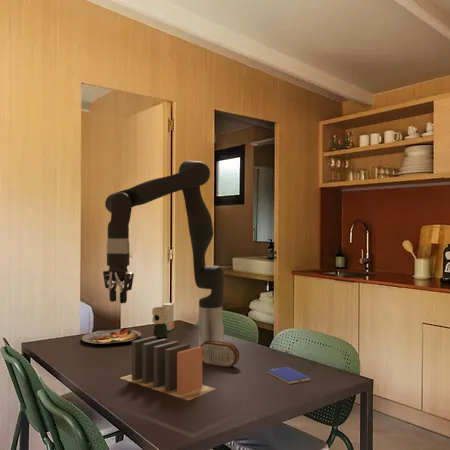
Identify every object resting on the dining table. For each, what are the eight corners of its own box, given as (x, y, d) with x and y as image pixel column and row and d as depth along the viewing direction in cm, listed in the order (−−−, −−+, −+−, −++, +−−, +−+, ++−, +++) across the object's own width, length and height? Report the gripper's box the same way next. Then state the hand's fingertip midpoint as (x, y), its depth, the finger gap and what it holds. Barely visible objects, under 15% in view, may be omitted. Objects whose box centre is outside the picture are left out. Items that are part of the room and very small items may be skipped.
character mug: (147, 336, 209) (147, 307, 209) (161, 334, 213) (161, 305, 213) (159, 341, 200) (159, 310, 200) (174, 338, 205) (174, 308, 205)
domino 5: (177, 394, 135) (177, 352, 135) (198, 385, 142) (198, 346, 142) (181, 395, 134) (181, 353, 134) (202, 387, 141) (202, 347, 141)
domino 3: (153, 386, 142) (153, 346, 142) (174, 379, 149) (174, 340, 149) (157, 387, 141) (157, 347, 141) (178, 380, 148) (178, 341, 148)
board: (119, 380, 149) (119, 378, 149) (148, 371, 159) (148, 369, 159) (188, 403, 130) (188, 400, 130) (216, 391, 140) (216, 388, 140)
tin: (239, 367, 164) (239, 343, 164) (236, 369, 161) (236, 345, 161) (201, 361, 170) (201, 338, 170) (197, 364, 168) (197, 340, 168)
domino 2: (142, 382, 145) (142, 343, 145) (163, 375, 152) (163, 338, 152) (145, 384, 144) (146, 344, 144) (167, 376, 151) (167, 339, 151)
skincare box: (170, 330, 220) (170, 305, 220) (161, 330, 221) (161, 304, 221) (174, 327, 226) (174, 303, 226) (165, 327, 227) (165, 302, 227)
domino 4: (164, 390, 138) (165, 349, 138) (186, 382, 145) (186, 343, 145) (168, 391, 137) (168, 350, 137) (190, 383, 144) (190, 344, 144)
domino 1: (131, 379, 148) (132, 341, 148) (153, 372, 155) (153, 336, 155) (135, 380, 147) (135, 342, 147) (156, 373, 154) (156, 336, 154)
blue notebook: (267, 369, 158) (288, 380, 147) (288, 366, 161) (310, 376, 150) (267, 374, 158) (288, 385, 147) (288, 370, 161) (310, 381, 150)
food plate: (137, 331, 218) (137, 324, 218) (145, 344, 195) (145, 336, 195) (81, 337, 210) (81, 329, 210) (82, 351, 188) (82, 342, 188)
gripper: (96, 251, 161) (96, 301, 161) (122, 253, 152) (122, 306, 152) (114, 250, 167) (113, 298, 167) (140, 252, 158) (140, 303, 158)
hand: (118, 301), depth 159 cm, fingers open, 5 cm apart
